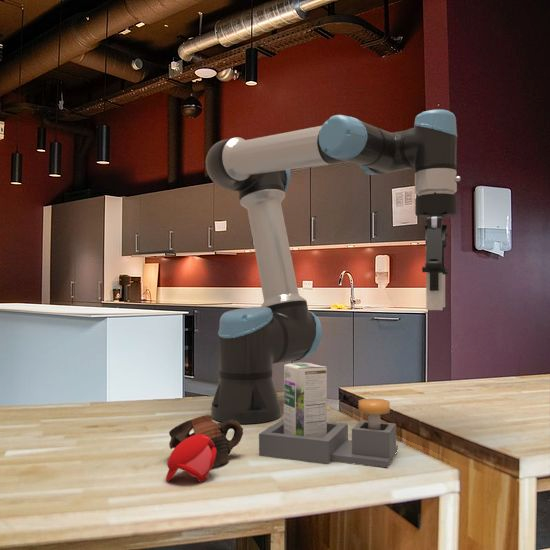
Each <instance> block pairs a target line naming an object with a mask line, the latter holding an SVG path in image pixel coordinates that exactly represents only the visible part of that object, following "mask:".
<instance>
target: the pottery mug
mask: <svg viewBox="0 0 550 550" xmlns="http://www.w3.org/2000/svg"><path fill="white" fill-rule="evenodd" d="M192 430H193V432H192V433H191V431H192ZM229 430H233V435H232V438H231V439H230V440H229V439H228V438H227V434H228V432H229ZM168 434H169V436H170V441H169V442H168V443H169V444H168V446H169V449H171V450H172V449H175V447H176V446H177V445H178V444H179V443H181V442H182V441H183V440H185V439H186V438H188V437H190V436H193V435H197V434H204V435H207V436H208V437H209V438H210V439H211V440H212V441H213V443H214V445H215V448H216V450H217V452H216V458H215V461H214V463H213V465H212V467H211V468H213V467H216V466H219V465H220V466H221V465H224V464H227V463H229V455H230V454H231V452H232V450H233V449H234V448H235V447H236V446H238V444H239V443H240V442H241V440H242V438H243V434H244V428H243V427H242V425H241V424H240V423H239V422H238V421H236V420H228V421H225V422H218V423H217V422H215V421H213V418H212V417H211V414H206V415H201V416H197V417H195V418H191V419H190V420H187V421H186V420H185V421H184V422H182V423H180V424H178V425H177V426H175V427H173V428H171V430H169V431H168Z"/></svg>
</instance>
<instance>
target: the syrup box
mask: <svg viewBox="0 0 550 550" xmlns="http://www.w3.org/2000/svg"><path fill="white" fill-rule="evenodd" d="M327 367H328V366H324V365H318V364H314V363H312V362H293V363H291V362H290V363H286V364H284V366H283V374H284V376H283V419H284V434H290V435H299V436H308V437H318V438H323V437H324V436H325V435H326V434H327V422H328V420H327V418H328V412H327V411H328V409H327V407H328V397H327V396H328V393H327V392H328V390H327V389H328V387H327V386H328V385H327V384H328V380H327V379H328V378H327V377H328V376H327V375H328V370H327V369H328V368H327Z"/></svg>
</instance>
